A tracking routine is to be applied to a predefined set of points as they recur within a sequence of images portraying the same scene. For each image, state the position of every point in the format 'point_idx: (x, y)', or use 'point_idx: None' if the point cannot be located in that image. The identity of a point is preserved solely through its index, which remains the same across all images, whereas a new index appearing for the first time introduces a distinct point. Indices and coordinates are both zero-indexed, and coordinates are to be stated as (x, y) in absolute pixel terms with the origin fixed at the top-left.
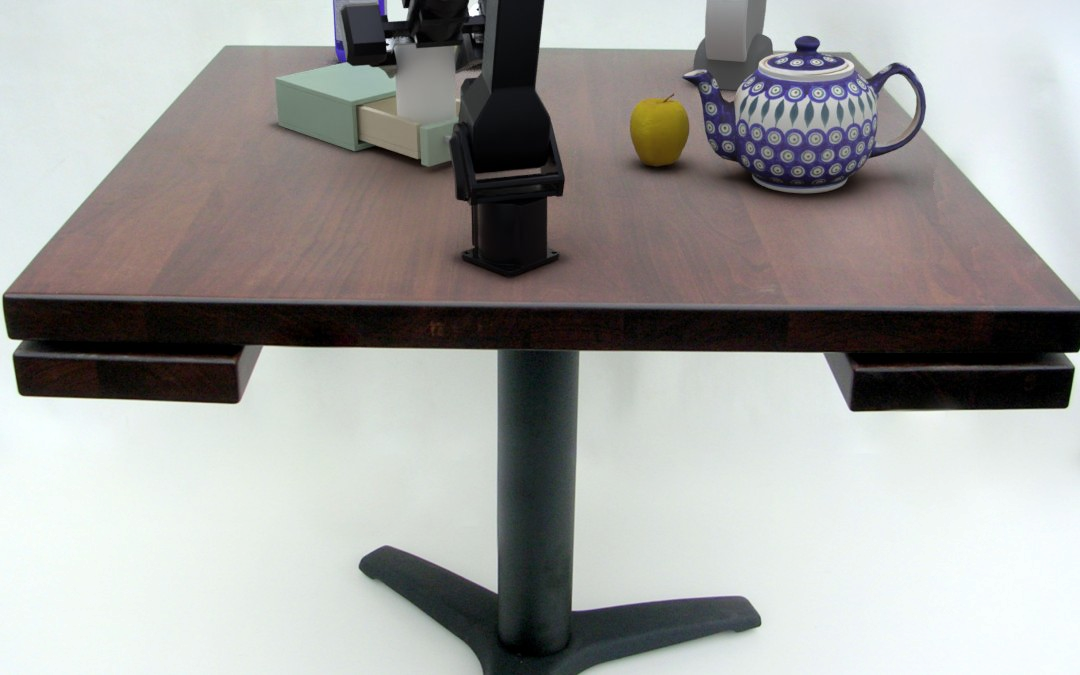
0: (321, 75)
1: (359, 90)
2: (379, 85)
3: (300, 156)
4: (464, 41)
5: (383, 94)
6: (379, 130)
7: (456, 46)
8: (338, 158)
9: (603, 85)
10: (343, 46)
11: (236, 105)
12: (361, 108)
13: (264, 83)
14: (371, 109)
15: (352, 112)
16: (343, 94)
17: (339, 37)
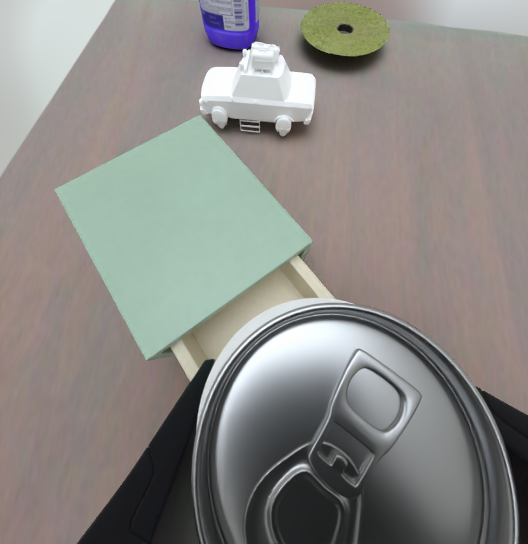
0: (129, 185)
1: (174, 284)
2: (213, 256)
3: (109, 362)
4: (526, 511)
5: (214, 311)
6: None
7: (331, 23)
8: (157, 381)
9: (493, 133)
10: (209, 20)
11: (81, 150)
12: (173, 351)
13: (126, 87)
14: (188, 366)
15: (157, 358)
16: (140, 308)
17: (203, 5)
